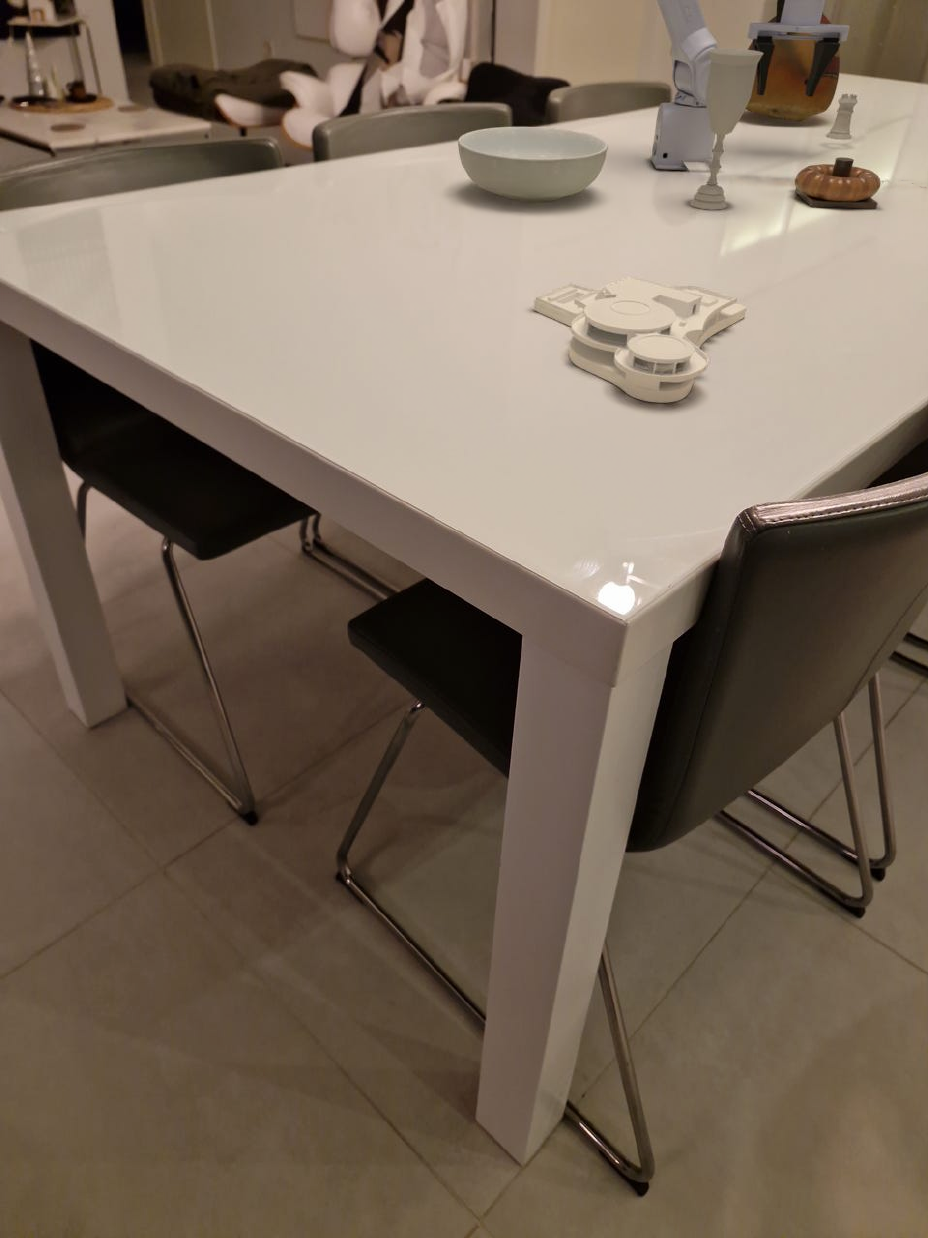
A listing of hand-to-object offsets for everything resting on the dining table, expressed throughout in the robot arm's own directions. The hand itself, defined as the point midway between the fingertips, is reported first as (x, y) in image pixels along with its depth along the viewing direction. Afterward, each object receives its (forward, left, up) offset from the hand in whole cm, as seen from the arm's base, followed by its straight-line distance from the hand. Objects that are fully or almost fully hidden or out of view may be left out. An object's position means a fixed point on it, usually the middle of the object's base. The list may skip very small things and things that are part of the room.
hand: (784, 94), depth 136 cm
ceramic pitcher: (+12, +44, -10) cm, 47 cm away
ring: (+4, -23, -8) cm, 24 cm away
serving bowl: (-40, -25, -10) cm, 48 cm away
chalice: (-15, -28, -10) cm, 33 cm away
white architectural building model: (-31, -79, -10) cm, 85 cm away
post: (+4, -23, -10) cm, 25 cm away
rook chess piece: (+16, +17, -10) cm, 25 cm away
